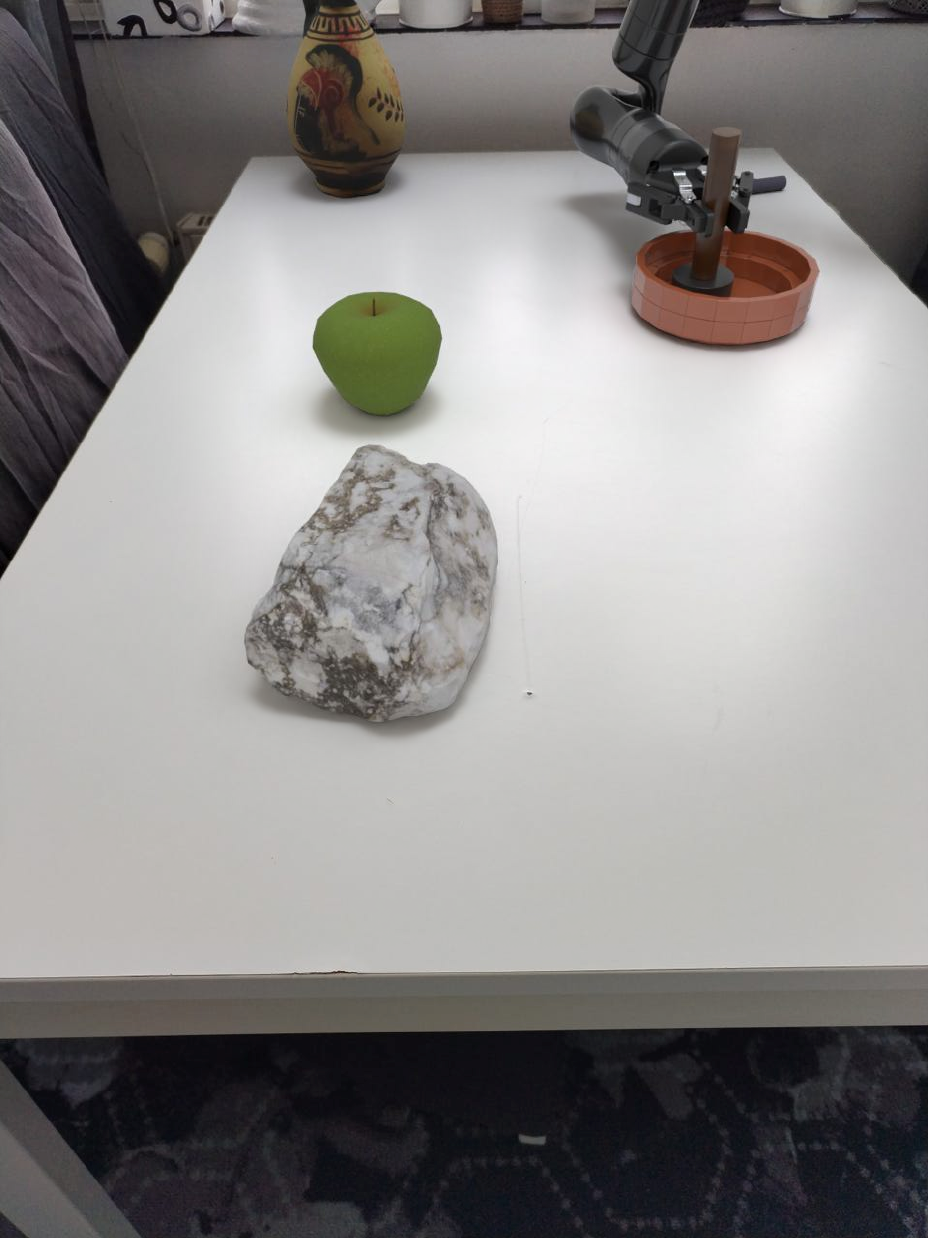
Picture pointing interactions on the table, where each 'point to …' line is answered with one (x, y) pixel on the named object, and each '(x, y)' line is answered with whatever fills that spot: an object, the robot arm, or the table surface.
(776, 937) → the table surface
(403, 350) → the apple
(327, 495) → the decorative stone
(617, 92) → the robot arm
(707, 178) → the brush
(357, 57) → the ceramic jug
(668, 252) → the bowl
